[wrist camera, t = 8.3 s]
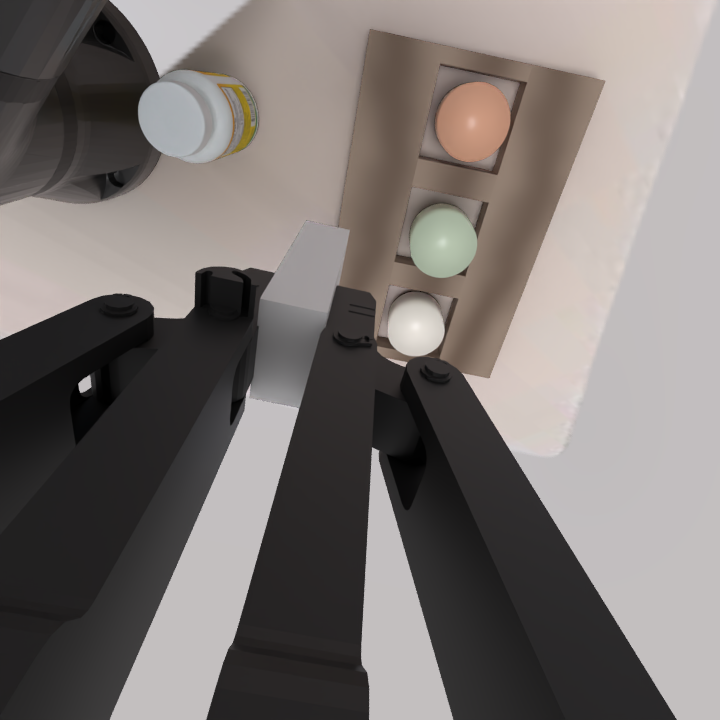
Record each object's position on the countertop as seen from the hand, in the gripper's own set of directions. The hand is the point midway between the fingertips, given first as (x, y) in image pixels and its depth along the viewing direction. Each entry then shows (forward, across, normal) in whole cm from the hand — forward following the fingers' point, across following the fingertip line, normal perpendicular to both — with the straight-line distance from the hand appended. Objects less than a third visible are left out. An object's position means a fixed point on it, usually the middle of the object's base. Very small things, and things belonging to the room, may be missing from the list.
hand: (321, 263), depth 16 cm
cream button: (+22, +8, -11) cm, 26 cm away
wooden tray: (+23, +7, -4) cm, 25 cm away
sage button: (+21, +7, -3) cm, 22 cm away
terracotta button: (+23, +7, +5) cm, 24 cm away
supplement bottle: (+24, -11, +1) cm, 26 cm away
